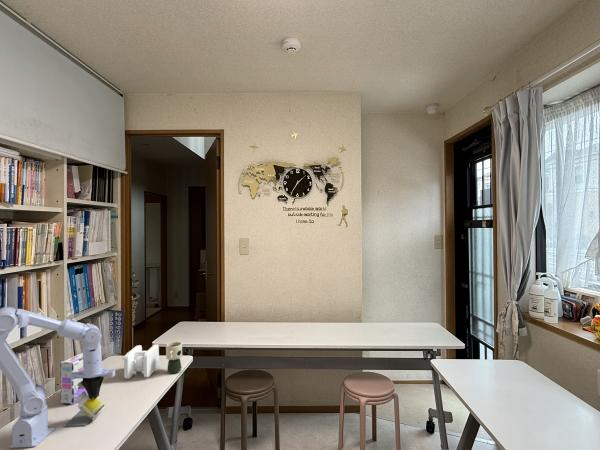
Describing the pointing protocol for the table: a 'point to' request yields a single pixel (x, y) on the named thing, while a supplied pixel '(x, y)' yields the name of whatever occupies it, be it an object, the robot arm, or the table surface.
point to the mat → (78, 420)
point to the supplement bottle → (89, 405)
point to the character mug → (174, 356)
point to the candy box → (68, 386)
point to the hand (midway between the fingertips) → (94, 397)
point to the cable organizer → (141, 361)
